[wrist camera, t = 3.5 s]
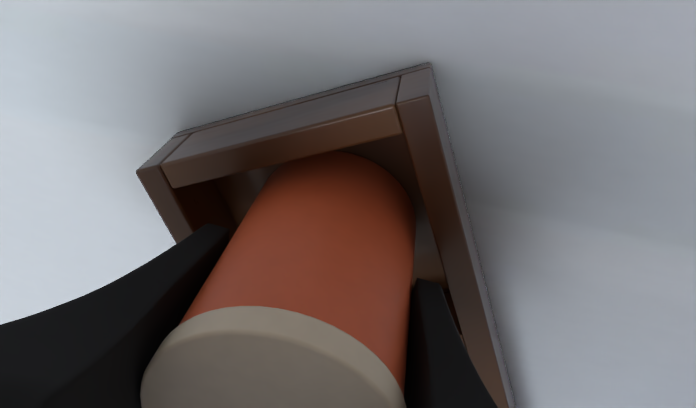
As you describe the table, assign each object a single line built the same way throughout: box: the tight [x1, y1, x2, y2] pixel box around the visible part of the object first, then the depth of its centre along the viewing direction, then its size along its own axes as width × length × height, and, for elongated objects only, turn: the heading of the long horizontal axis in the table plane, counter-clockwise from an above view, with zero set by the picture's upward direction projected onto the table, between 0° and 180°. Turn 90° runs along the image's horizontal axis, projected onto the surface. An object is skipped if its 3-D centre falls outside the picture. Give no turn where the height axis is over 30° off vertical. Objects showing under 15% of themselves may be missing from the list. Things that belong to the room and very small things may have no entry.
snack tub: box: [140, 151, 416, 408], centre depth 13 cm, size 5×5×8 cm
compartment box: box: [136, 63, 516, 408], centre depth 17 cm, size 8×15×3 cm, turn 18°
